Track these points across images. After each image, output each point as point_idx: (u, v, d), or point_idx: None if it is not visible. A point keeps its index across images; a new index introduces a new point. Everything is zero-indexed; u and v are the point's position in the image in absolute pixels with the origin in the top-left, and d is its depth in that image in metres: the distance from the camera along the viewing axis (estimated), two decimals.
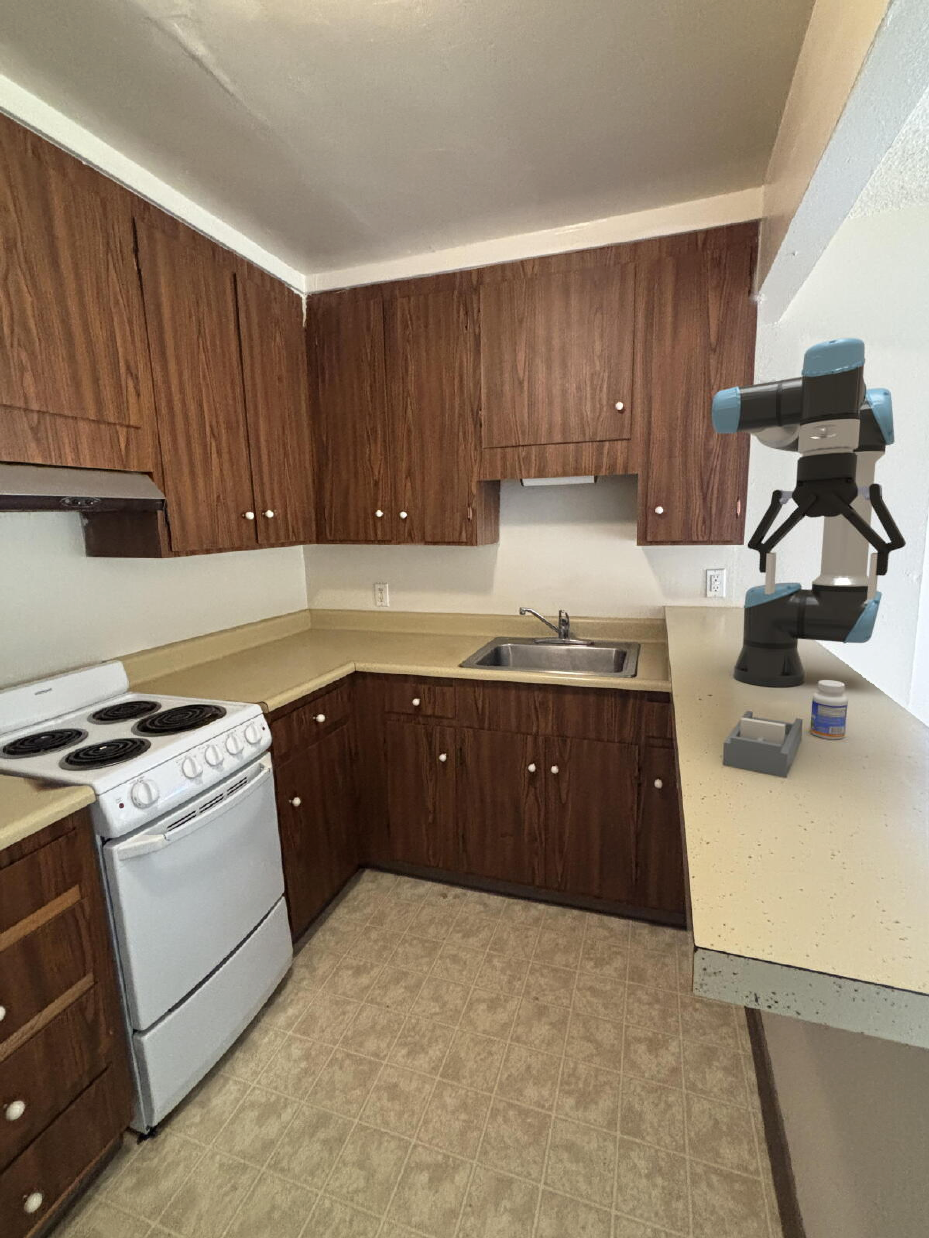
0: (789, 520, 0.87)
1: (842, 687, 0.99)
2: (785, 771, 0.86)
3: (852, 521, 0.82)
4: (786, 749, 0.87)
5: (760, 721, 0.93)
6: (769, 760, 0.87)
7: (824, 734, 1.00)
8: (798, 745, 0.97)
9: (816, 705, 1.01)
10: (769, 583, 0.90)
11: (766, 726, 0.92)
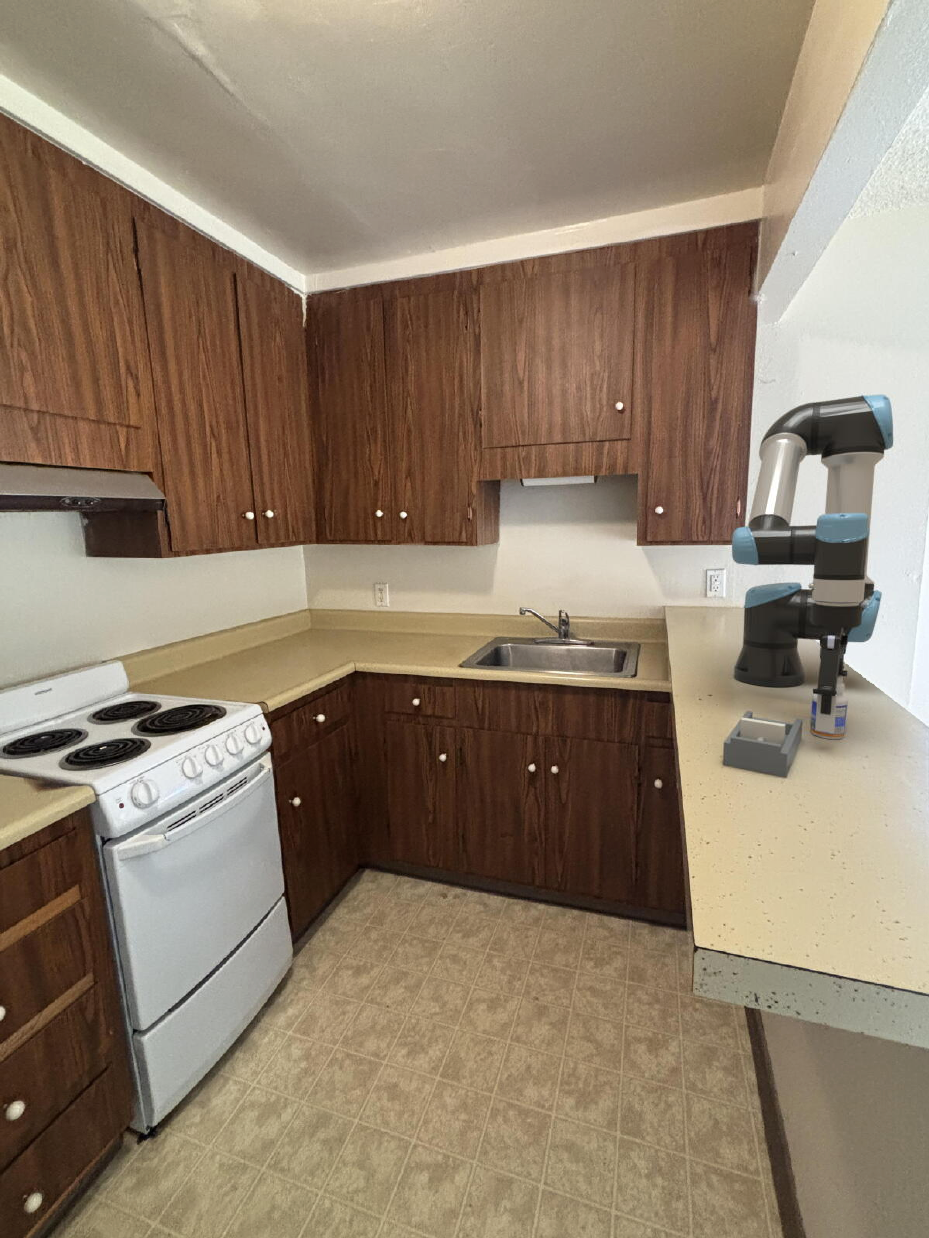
0: None
1: (842, 687, 0.99)
2: (785, 771, 0.86)
3: None
4: (786, 749, 0.87)
5: (760, 721, 0.93)
6: (769, 760, 0.87)
7: (824, 734, 1.00)
8: (798, 745, 0.97)
9: (816, 705, 1.01)
10: None
11: (766, 726, 0.92)
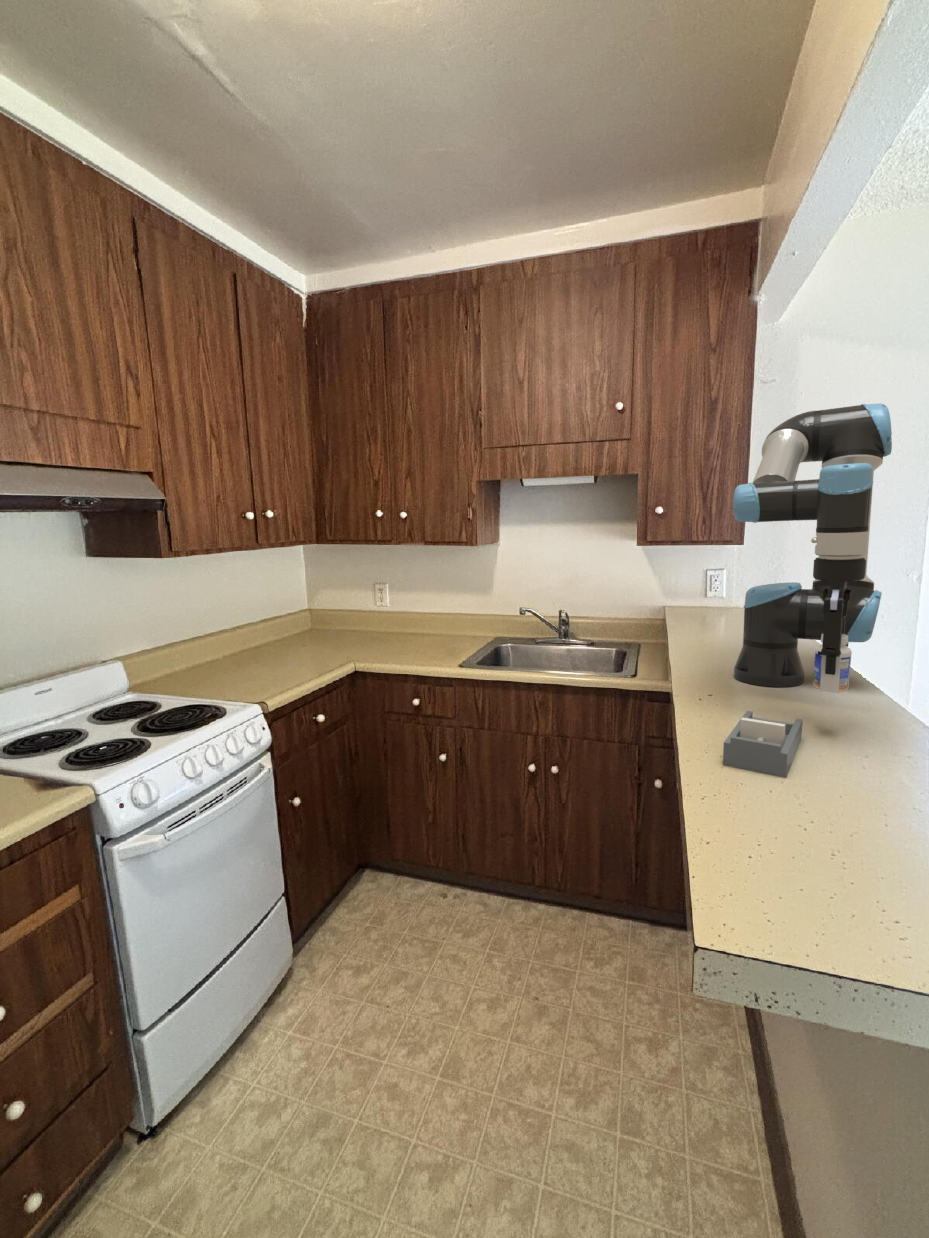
0: None
1: (845, 639, 0.98)
2: (785, 771, 0.86)
3: None
4: (786, 749, 0.87)
5: (760, 721, 0.93)
6: (769, 760, 0.87)
7: None
8: (798, 745, 0.97)
9: (819, 658, 1.00)
10: None
11: (766, 726, 0.92)
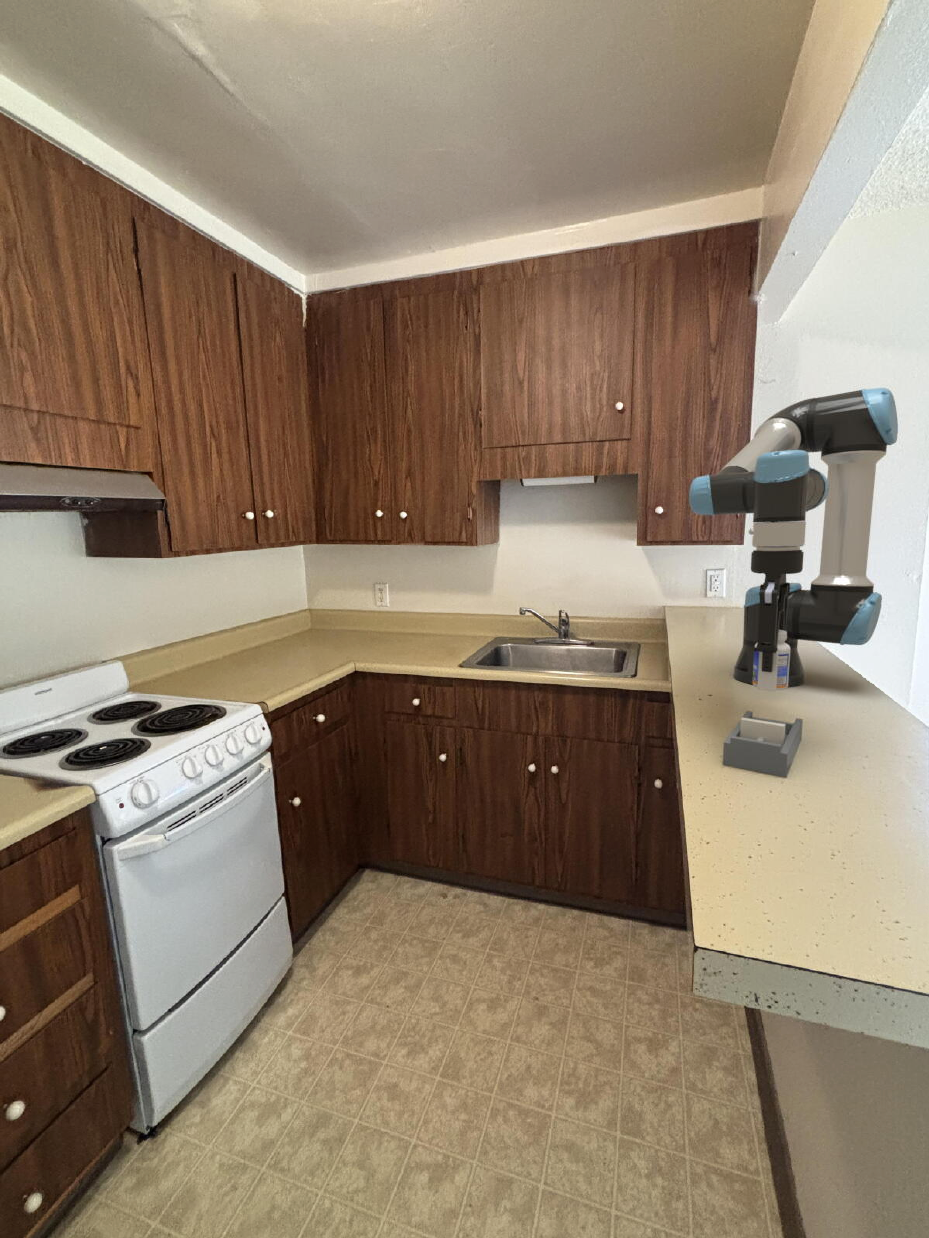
0: None
1: (784, 634, 0.93)
2: (785, 771, 0.86)
3: None
4: (786, 749, 0.87)
5: (760, 721, 0.93)
6: (769, 760, 0.87)
7: None
8: (798, 745, 0.97)
9: (757, 655, 0.95)
10: None
11: (766, 726, 0.92)
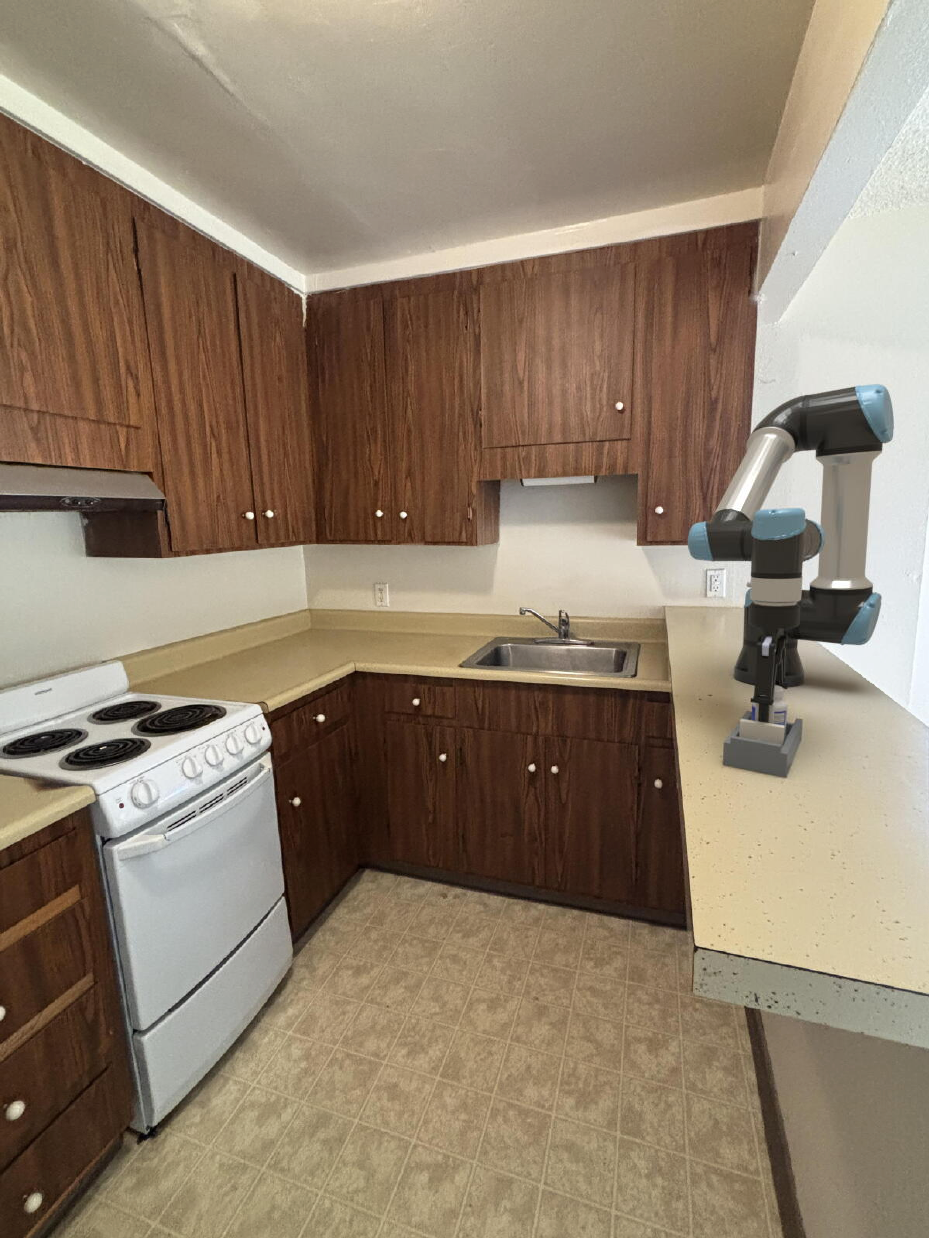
0: None
1: (781, 692, 0.95)
2: (785, 771, 0.86)
3: None
4: (786, 749, 0.87)
5: (759, 722, 0.92)
6: (769, 760, 0.87)
7: None
8: (798, 745, 0.97)
9: None
10: None
11: (765, 727, 0.91)
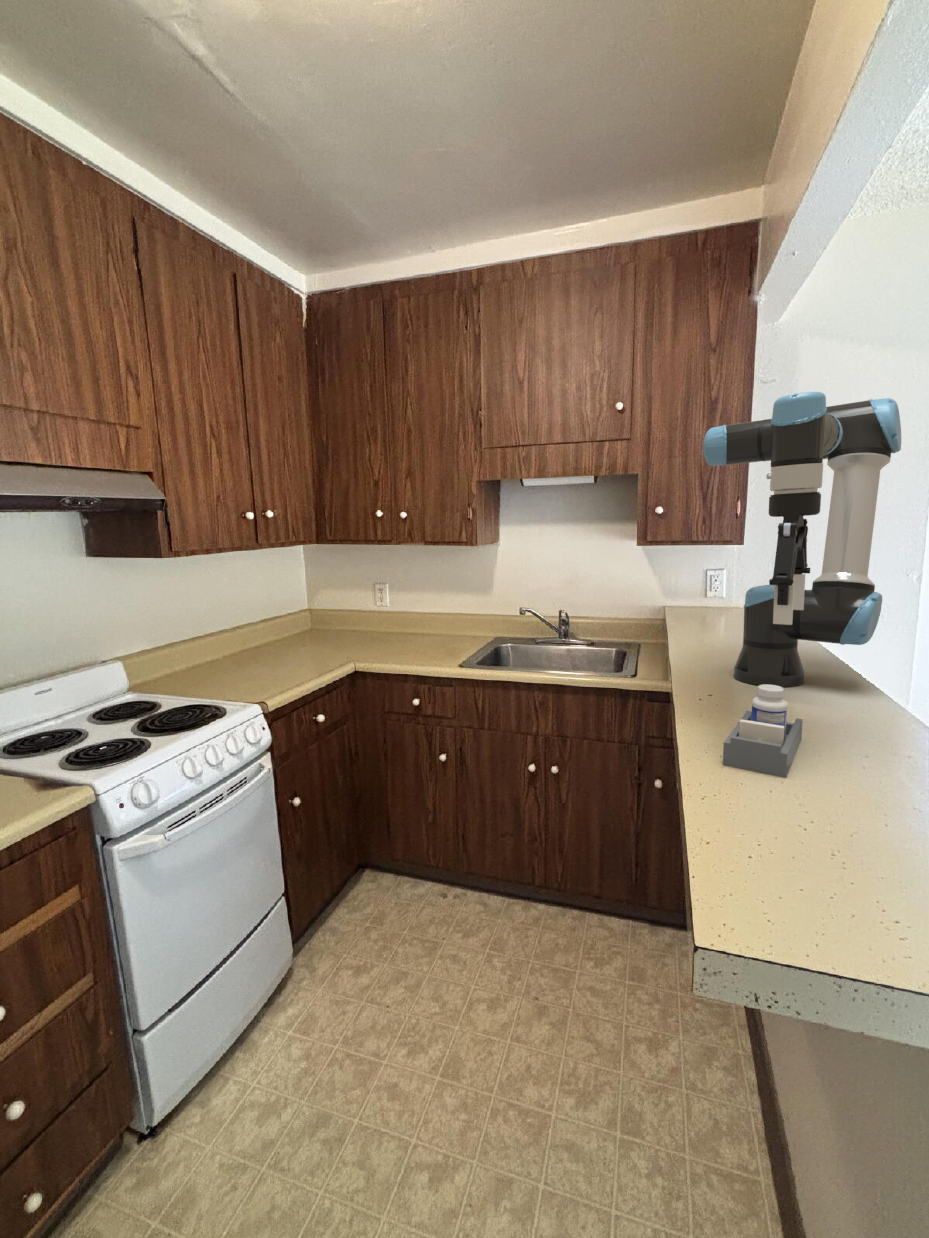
0: None
1: (781, 692, 0.95)
2: (785, 771, 0.86)
3: None
4: (786, 749, 0.87)
5: (759, 723, 0.92)
6: (769, 760, 0.87)
7: None
8: (798, 745, 0.97)
9: (755, 711, 0.97)
10: None
11: (765, 728, 0.91)
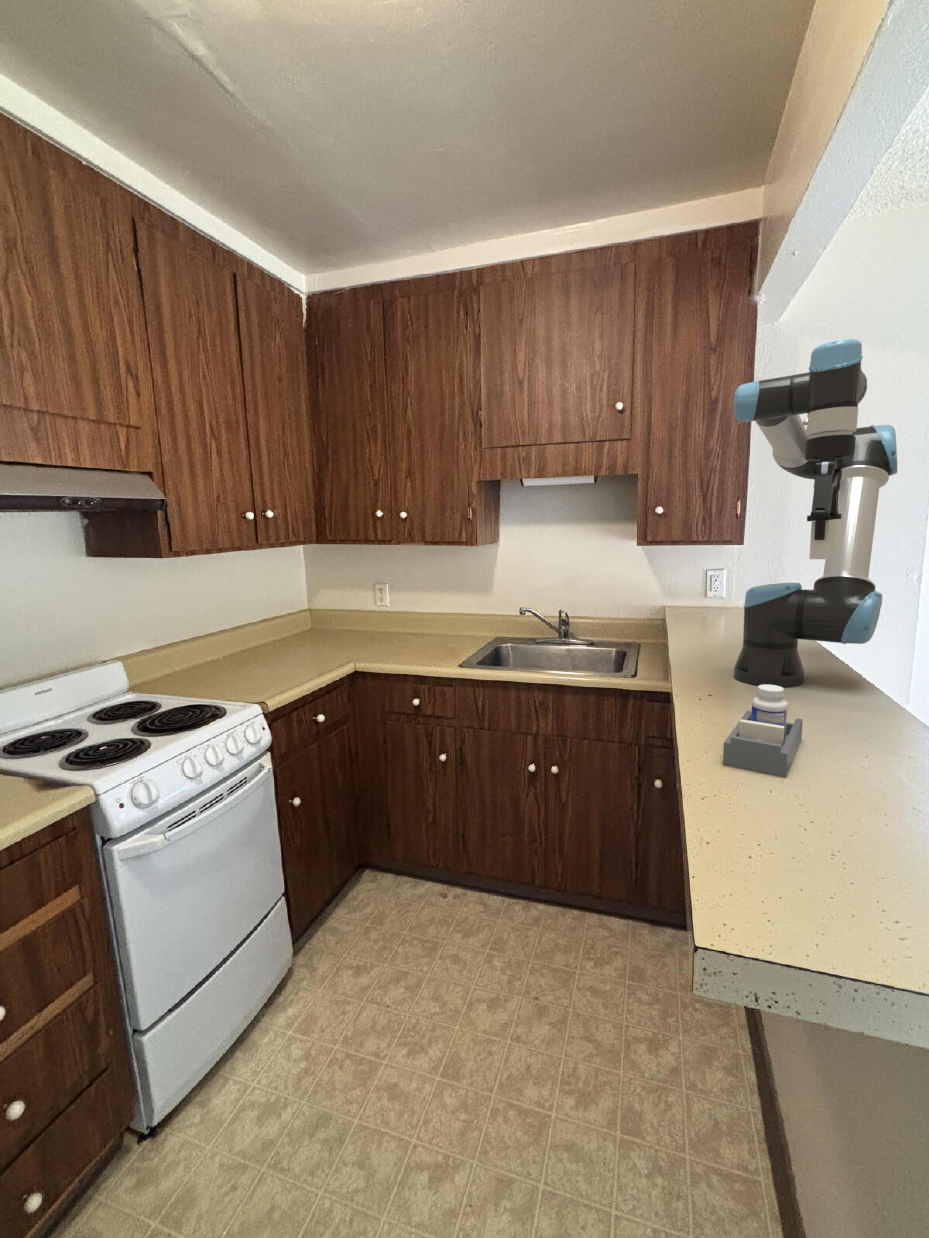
0: None
1: (781, 692, 0.95)
2: (785, 771, 0.86)
3: None
4: (786, 749, 0.87)
5: (759, 723, 0.92)
6: (769, 760, 0.87)
7: None
8: (798, 745, 0.97)
9: (755, 711, 0.97)
10: None
11: (765, 728, 0.91)
